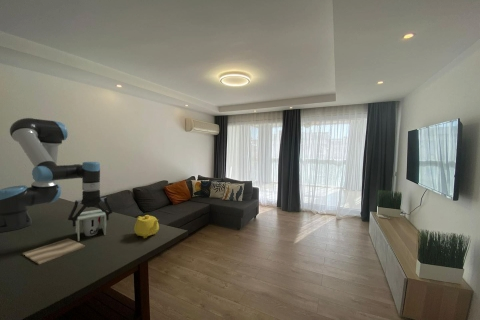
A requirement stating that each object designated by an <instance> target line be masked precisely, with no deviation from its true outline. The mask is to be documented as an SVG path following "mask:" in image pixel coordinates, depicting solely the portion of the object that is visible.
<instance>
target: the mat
mask: <svg viewBox="0 0 480 320" xmlns="http://www.w3.org/2000/svg"><path fill="white" fill-rule="evenodd" d="M83 248H86V245H85V244H83V243H80V242H79V241H76V240H73V239H71V238H69V237H68V238H65V239H62V240H59V241H56V242H53V243H50V244H47V245H46V244H45V245H43V246H40V247H37V248H34V249H31V250H28V251H25V252H22V255H23V256H24V255H25V256H24V257H26V258H27V259H30V260H31V261H33V262H34V263H36V264H37V265H41V264H44V263H47V262H49V261H53V260H54V259H57V258H60V257H62V256H65V255H68V254H71V253H73V252H76V251H78V250H82V249H83Z"/></svg>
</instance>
